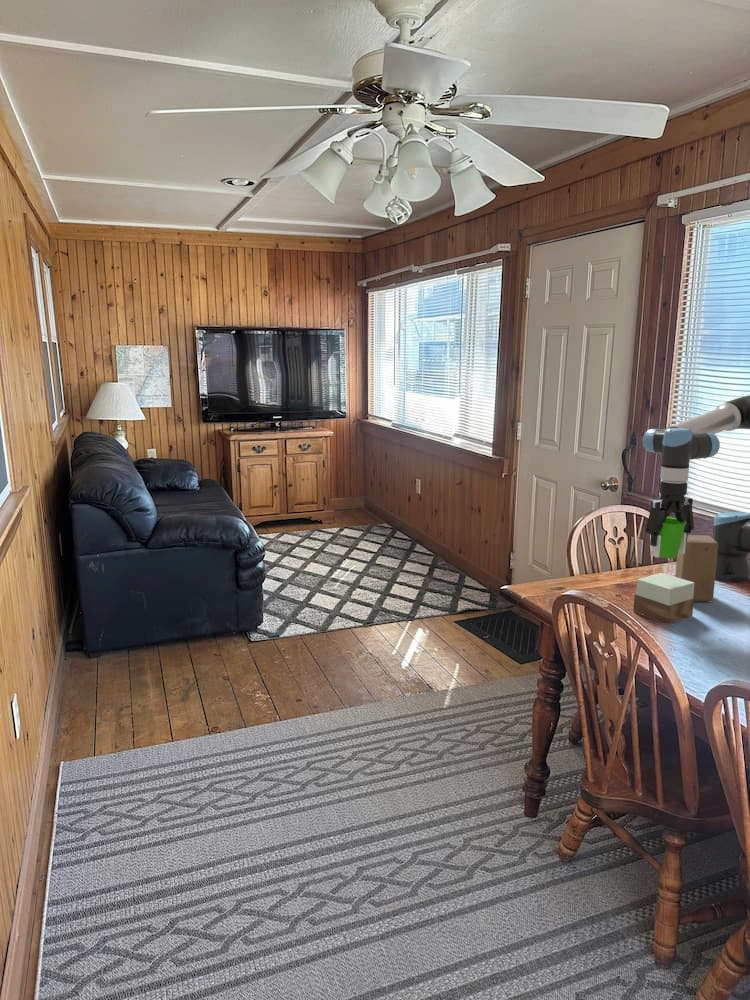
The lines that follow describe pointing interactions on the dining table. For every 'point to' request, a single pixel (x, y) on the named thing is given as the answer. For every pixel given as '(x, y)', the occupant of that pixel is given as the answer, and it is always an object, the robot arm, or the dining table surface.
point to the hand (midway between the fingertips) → (667, 554)
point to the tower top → (665, 589)
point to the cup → (671, 537)
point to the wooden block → (699, 565)
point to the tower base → (663, 609)
